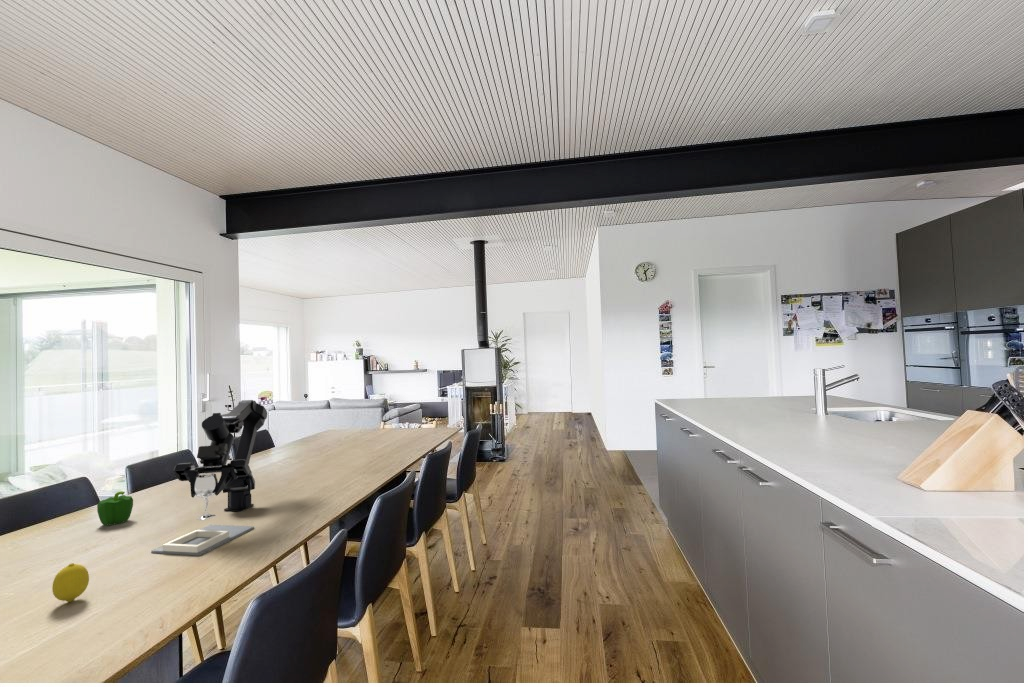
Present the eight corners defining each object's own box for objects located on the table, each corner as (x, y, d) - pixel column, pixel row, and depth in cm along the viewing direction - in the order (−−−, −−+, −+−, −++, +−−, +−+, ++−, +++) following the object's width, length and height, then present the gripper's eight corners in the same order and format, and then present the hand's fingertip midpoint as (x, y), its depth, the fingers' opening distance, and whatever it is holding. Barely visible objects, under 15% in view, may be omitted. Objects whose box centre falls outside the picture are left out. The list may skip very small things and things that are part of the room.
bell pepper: (91, 526, 141) (91, 494, 141) (122, 517, 148) (122, 486, 149) (107, 529, 138) (107, 496, 138) (138, 520, 145) (138, 489, 146)
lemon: (68, 596, 97) (68, 558, 98) (95, 594, 98) (96, 557, 98) (44, 610, 92) (44, 570, 92) (73, 608, 92) (73, 568, 93)
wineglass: (218, 517, 129) (218, 475, 129) (193, 522, 126) (193, 479, 126) (217, 512, 134) (217, 472, 134) (194, 516, 130) (194, 475, 131)
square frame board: (151, 552, 119) (151, 544, 119) (210, 526, 138) (210, 519, 138) (200, 555, 117) (200, 547, 117) (254, 528, 135) (254, 521, 135)
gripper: (176, 436, 132) (155, 484, 121) (246, 432, 136) (233, 478, 125) (188, 457, 140) (170, 504, 128) (255, 453, 144) (243, 498, 133)
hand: (204, 495), depth 129 cm, fingers closed on wineglass, 6 cm apart
